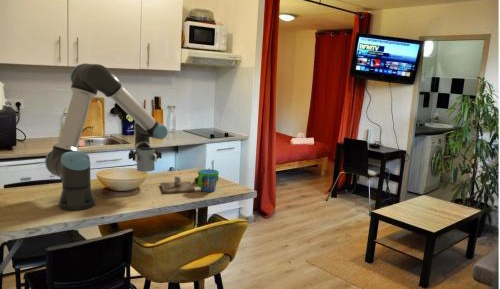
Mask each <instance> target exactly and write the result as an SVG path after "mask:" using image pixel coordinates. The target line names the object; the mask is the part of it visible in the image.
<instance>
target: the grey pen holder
mask: <svg viewBox="0 0 500 289" xmlns="http://www.w3.org/2000/svg"><path fill="white" fill-rule="evenodd" d="M154 150H155V147H151V146H150V147H142V148H137V162H136V171H139V172H142V173H143V172H145V173H146V172H153V171H155V160H154Z"/></svg>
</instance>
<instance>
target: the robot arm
mask: <svg viewBox="0 0 500 289" xmlns="http://www.w3.org/2000/svg"><path fill="white" fill-rule="evenodd" d="M70 81H71V85H70V89H71V91H72V94H71V99H70V102H69V105H68V108H67V112H66V114H65V115H66V116H65V119H64V121H63V122H64V123H63V125H62V129H61V132H60V136H59V139H58V141H57V142H56V143H55V144H53V146H52V150H51V151H50V152H48V153H47V154H46V156H45V159H44V164H45V167H46V169H47V171H48V172H49V173H51V175H53V176H56V177H59V178H61V184H62V186H61V187H62V188H61V189H62V191H61V194H60V197H59V200H58V208H59V209H61V210H63V209H64V210H65V211H82V210H86V209H89V208H90V209H91V208H92V207H95V205H96V197H95V194H94V193H93V190H92V185H91V184H92V183H91V182H92V181H91V180H92V179H91V160H90V156H89V154H88V153H86V152H83V151H81V150H80V149H79V144H80V141H81V137H82V134H83V130H84V128H85V125H86V124H85V123H86V121H87V117H88V113H89V111H90V110H89V109H90V107H91V103H92V101H93V100H92V99H93V98H96V97H97V94H98V92H99V93H102V94H103V95H104V96H105V97H106V98H110V99H111V100H113V101H114V102H115V103H116V104H117V105H118V106H119V107H120V108H121V109H122V110H123V111H124V112H125V113H126V114H127V115H128V116H129V117H130V118H132V120H133V121H134V149H135V150H133V149H130V150H129V153H128V160H131V159H132V161H133V162H134V161H135V163H137V148H142V147H150V148H151V146H150V144H151V143H150V138H152V139H155V140H163V139H165V138H166V136H168V127H167V126H165V125H164V124H162V123H159V122H158V121H157V120H156V118H154V117H153V116H152V115H151V114H150V113H149V112H148V111H147V110H146V108H144V106H142V104H141V103H140V102H138V101H137V99H135V98H134V96H133V95H132V94H131V93H130V92H129V91H128V90H127V89H126V88H125V87H124V85H123V82H122V81H121V80H120V79H119V78H118V77H117V76H116V75H115V74H114V73H113V72H112V71H111V70H110V69H109V68H107V67H106V66H104V65H102V64H99V63H81V64H77V65H75V67H73V69H72V70H71V72H70ZM159 159H162V152H161V151H160V150H159V149H154V163H157V160H159Z"/></svg>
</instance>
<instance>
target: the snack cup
mask: <svg viewBox="0 0 500 289" xmlns="http://www.w3.org/2000/svg"><path fill="white" fill-rule="evenodd" d="M197 174H198V176H199V178H198V181H197V187H199V188H200V190H201V191H202V192H207V193H208V192H209V193H210V192H211V193H212V192H214V191H216V188H217V187H216V186H217V182H219V174H220V173H219V170H217V169H212V168H211V169H210V168H205V169H199V170H198V171H197Z"/></svg>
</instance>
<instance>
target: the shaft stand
mask: <svg viewBox="0 0 500 289" xmlns="http://www.w3.org/2000/svg"><path fill="white" fill-rule="evenodd" d="M181 179H182V177H181V176H179V175H178V176H174V181H173V182H160V188H161V190H162V194H163V195H167V194H183V193H196V188H195V187H194V185H193V184H192V182H191V181H181Z"/></svg>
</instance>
